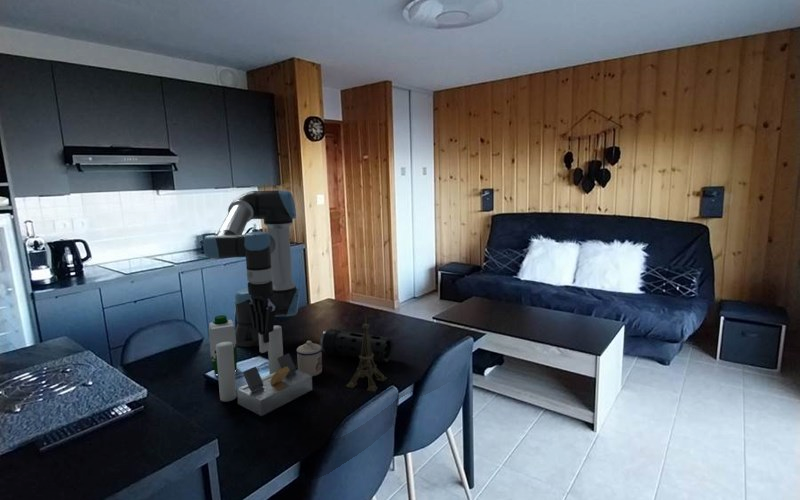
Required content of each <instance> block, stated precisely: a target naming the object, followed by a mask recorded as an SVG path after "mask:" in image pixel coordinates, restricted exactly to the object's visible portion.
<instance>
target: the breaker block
mask: <svg viewBox="0 0 800 500" xmlns="http://www.w3.org/2000/svg"><path fill="white" fill-rule="evenodd" d="M275 373H276V372H275ZM275 373H272V374H268V375H265V376H264V377H261V379H262V381H263V385H264V386H263V387H262V388H259V389H257V390H255V391H253V392H251V390H250V389H249V387H248V384H247V383H246V384H245V385H242V386H240V387H239V388H238V387H237V388H236V392H237V397H236V399H237V405H239V406H241V407H243V408H245V409H247V410H249V411H251V412H253V413H255V414H256V415H259V416H260V417H264V416H265V415H266V414H268V413H270V412H272V411H274V410H276V409H278V408H281V407H282V406H284V405H286V404H287V403H290V402H292V401H293V400H295V399H297V398H300V397H301V396H303V395H305V394H308V393H309V392H311V391H313V376H311V375H308V374H306V373H303V372H301V371H298V369H296V372H295V373H292V374H290V375H288V376H286V377H285V378H284V380H282V381H280V382H277V383H275V384H273V385H271V384H270V381H271V379H272V377H273V376H274V374H275Z"/></svg>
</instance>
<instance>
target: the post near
mask: <svg viewBox="0 0 800 500" xmlns="http://www.w3.org/2000/svg"><path fill="white" fill-rule="evenodd" d="M216 354H217V366H218V376H217V377H218V389H219V399H220V401H221V402H231V401H234V400H235V399H237V379H236V373H235V365H234V352H233V343H232V342H221V343H218V344H217V345H216Z"/></svg>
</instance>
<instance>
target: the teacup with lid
mask: <svg viewBox="0 0 800 500" xmlns="http://www.w3.org/2000/svg"><path fill="white" fill-rule="evenodd" d="M295 351H296V356H297V370H298V371H301V372H303V373H306V374H308V375H311V376H312V377H315V376H318V375H320V374H321V373H322V372H323V360H322V359H323V355H322V354H323V353H322V351H323V350H322V347H321V346H320V344H318V343H314V342H312V340H307V341H306V343H304V344H302V345H299V346H298V347H297V348H296V350H295Z"/></svg>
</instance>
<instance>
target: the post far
mask: <svg viewBox="0 0 800 500" xmlns="http://www.w3.org/2000/svg"><path fill="white" fill-rule="evenodd" d="M282 329H283V328H282V326H281V325H274V329H273V331H272V332H269V351H267V354H268V356H267V357H268V371H269V374H268V375H270V374H272V373H275V372H276V371H277V370H280V369H281V367H280V364H279V362H278V360H277V359H278V358H279V357H281V356H284V346H283V330H282Z"/></svg>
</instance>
